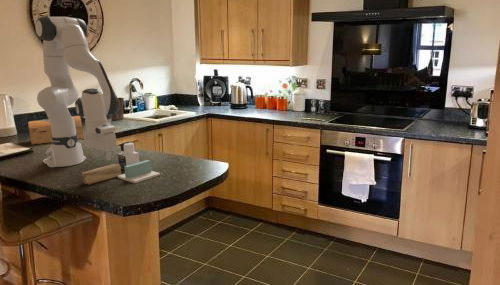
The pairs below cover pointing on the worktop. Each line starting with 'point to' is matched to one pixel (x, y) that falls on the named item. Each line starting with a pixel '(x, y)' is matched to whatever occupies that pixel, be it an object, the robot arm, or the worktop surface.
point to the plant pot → (120, 113)
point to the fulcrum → (138, 172)
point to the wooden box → (49, 130)
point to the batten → (101, 173)
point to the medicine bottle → (127, 155)
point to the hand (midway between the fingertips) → (102, 158)
